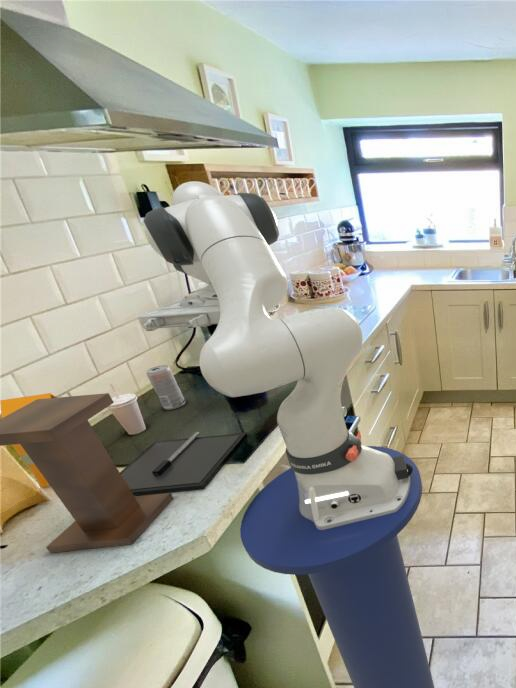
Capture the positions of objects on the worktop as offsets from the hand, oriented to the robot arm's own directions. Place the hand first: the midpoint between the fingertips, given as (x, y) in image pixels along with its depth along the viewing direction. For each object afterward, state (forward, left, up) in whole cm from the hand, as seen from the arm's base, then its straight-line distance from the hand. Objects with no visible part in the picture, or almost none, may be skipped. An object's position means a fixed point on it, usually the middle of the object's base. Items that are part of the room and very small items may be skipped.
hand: (168, 326), depth 99 cm
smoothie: (+20, -1, -28) cm, 35 cm away
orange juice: (+22, +16, -28) cm, 39 cm away
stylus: (0, +14, -27) cm, 30 cm away
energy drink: (+18, -14, -28) cm, 36 cm away
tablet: (-1, +17, -28) cm, 33 cm away
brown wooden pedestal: (0, +35, -28) cm, 45 cm away
